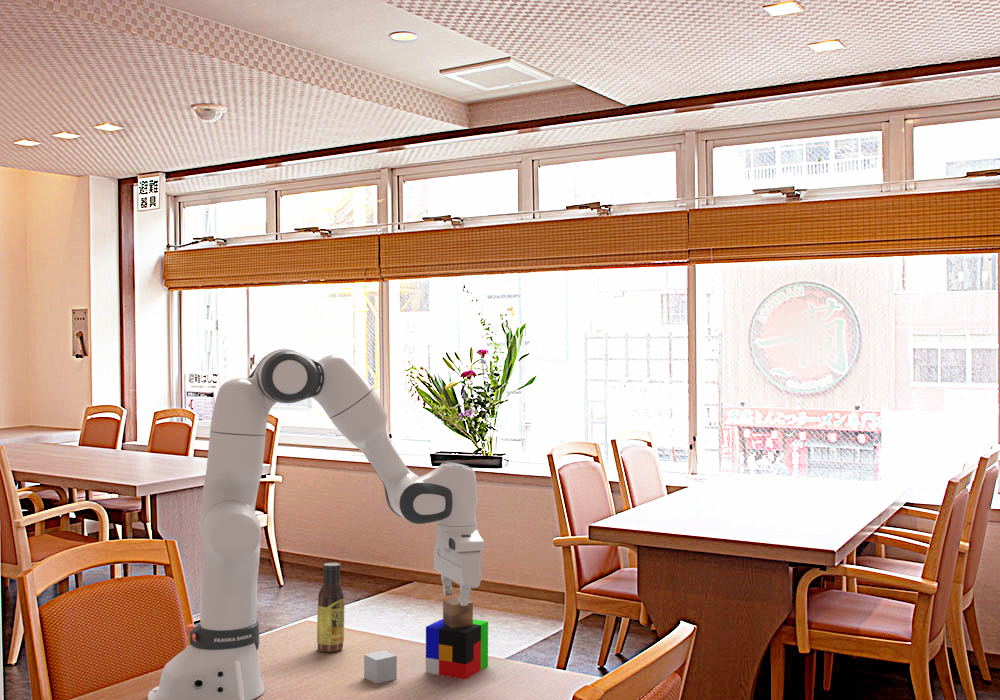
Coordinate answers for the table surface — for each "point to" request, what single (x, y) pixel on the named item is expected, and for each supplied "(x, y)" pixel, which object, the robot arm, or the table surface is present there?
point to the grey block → (380, 666)
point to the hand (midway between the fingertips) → (455, 599)
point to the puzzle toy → (456, 649)
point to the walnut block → (457, 613)
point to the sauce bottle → (330, 611)
